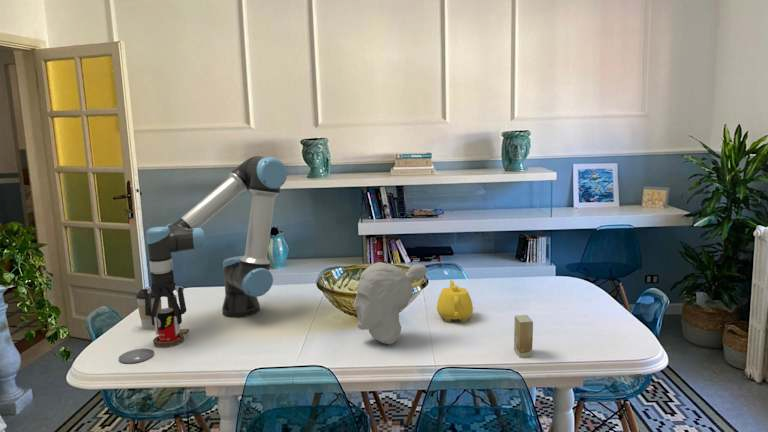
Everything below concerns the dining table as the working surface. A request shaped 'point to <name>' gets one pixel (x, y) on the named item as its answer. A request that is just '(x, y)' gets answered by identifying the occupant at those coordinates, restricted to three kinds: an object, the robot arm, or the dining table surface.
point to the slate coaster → (136, 356)
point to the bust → (384, 298)
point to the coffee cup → (145, 319)
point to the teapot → (454, 303)
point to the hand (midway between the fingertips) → (168, 332)
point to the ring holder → (175, 342)
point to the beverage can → (166, 325)
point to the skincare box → (523, 336)
